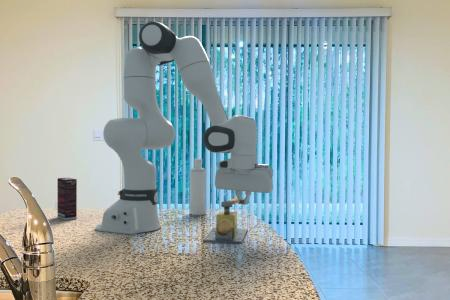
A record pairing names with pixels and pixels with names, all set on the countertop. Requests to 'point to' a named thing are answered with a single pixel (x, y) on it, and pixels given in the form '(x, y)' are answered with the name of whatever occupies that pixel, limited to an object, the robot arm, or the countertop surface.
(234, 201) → the lever
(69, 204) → the supplement box
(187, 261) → the countertop surface
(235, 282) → the countertop surface
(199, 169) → the grey bottle
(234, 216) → the valve
